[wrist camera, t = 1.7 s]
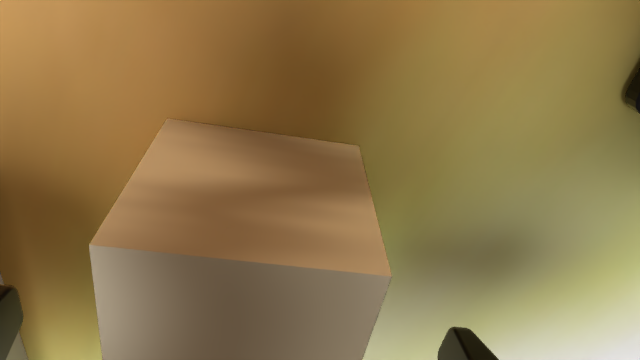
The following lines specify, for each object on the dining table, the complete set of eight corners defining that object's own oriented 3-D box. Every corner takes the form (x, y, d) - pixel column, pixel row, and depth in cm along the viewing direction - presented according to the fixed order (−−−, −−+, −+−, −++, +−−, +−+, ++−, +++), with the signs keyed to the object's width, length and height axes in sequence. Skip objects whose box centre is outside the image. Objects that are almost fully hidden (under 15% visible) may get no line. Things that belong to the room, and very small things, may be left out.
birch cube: (358, 144, 12) (392, 276, 8) (324, 278, 14) (335, 433, 10) (167, 116, 11) (88, 244, 7) (167, 262, 14) (109, 421, 10)
